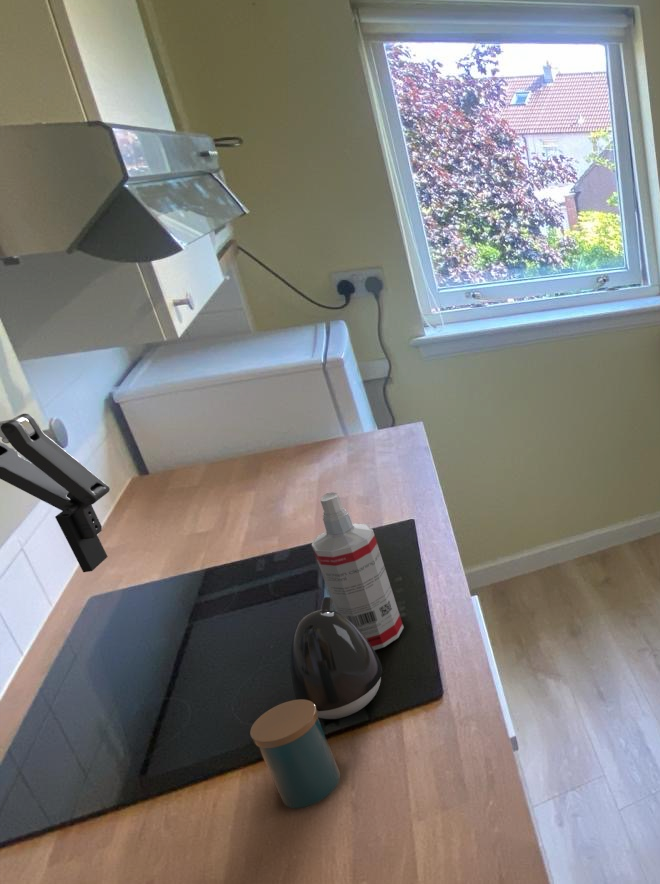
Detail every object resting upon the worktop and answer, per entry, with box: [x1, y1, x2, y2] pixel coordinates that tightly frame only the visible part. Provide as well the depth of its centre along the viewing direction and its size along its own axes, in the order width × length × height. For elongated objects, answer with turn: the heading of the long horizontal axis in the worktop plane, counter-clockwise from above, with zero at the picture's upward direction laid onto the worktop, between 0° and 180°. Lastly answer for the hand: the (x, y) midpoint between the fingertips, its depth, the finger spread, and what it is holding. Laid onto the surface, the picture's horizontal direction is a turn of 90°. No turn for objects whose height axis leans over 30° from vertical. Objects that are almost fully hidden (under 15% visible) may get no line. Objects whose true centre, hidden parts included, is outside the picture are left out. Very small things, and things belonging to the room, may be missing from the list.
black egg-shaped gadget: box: [290, 596, 383, 720], centre depth 98 cm, size 10×10×15 cm
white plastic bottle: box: [311, 491, 405, 651], centre depth 109 cm, size 8×8×25 cm
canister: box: [249, 699, 341, 809], centre depth 86 cm, size 6×6×11 cm
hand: (16, 575), depth 74 cm, fingers open, 13 cm apart
